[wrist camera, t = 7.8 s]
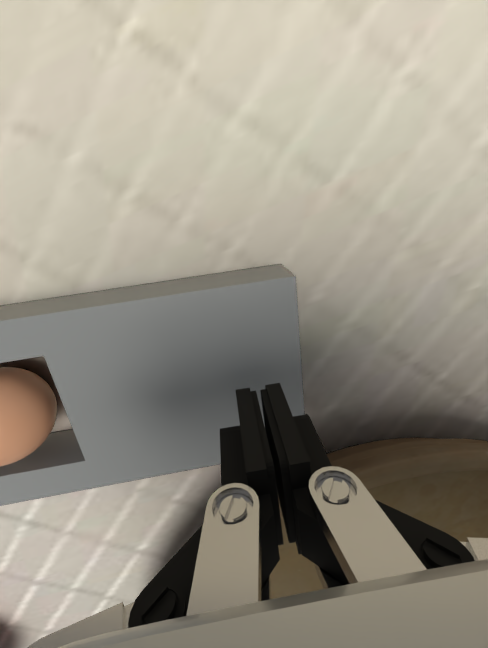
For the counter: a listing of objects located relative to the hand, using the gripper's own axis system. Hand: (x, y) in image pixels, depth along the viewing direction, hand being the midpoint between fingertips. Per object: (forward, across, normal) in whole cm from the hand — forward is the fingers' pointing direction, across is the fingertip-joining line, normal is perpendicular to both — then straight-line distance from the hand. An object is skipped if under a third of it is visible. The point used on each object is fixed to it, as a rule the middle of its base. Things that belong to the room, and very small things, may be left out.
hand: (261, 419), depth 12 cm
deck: (+4, +6, -1) cm, 7 cm away
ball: (+2, +11, -1) cm, 11 cm away
